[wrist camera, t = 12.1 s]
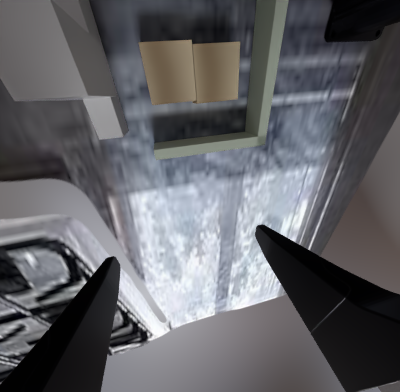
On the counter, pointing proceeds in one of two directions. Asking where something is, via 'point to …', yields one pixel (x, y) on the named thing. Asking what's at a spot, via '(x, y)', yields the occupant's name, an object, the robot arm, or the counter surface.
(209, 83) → the chip
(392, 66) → the counter surface
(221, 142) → the green u-shaped frame
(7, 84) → the grey stepped block
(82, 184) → the counter surface
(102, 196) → the counter surface
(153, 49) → the chip
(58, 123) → the counter surface
